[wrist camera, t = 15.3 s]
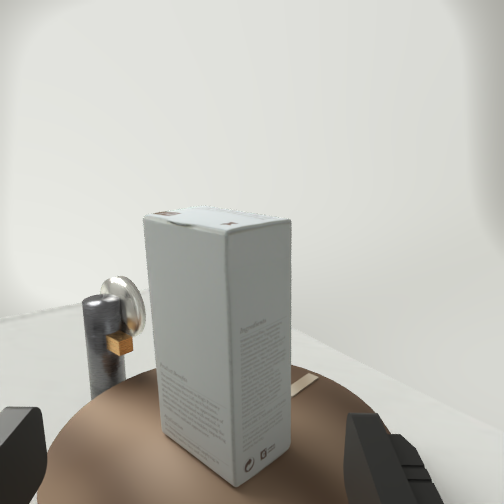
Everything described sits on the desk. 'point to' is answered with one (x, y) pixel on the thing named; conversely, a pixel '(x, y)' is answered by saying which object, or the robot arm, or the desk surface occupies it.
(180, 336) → the skincare box
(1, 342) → the desk surface
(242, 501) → the turntable
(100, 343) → the post with glass disc
